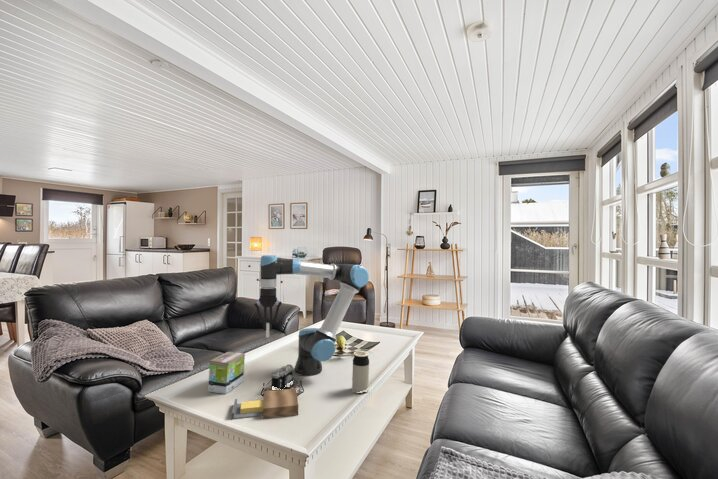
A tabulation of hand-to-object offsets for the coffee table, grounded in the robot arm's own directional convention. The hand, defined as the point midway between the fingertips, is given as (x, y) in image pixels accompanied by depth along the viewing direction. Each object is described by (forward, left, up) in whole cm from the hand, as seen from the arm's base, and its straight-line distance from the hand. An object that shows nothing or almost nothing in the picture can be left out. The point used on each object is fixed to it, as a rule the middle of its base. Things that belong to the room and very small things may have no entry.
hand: (267, 336), depth 158 cm
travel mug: (-44, +9, -26) cm, 52 cm away
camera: (-9, -1, -26) cm, 27 cm away
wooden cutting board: (-6, +18, -26) cm, 32 cm away
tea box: (+19, -8, -26) cm, 33 cm away
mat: (+7, +18, -26) cm, 32 cm away
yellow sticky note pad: (+5, +18, -25) cm, 31 cm away
